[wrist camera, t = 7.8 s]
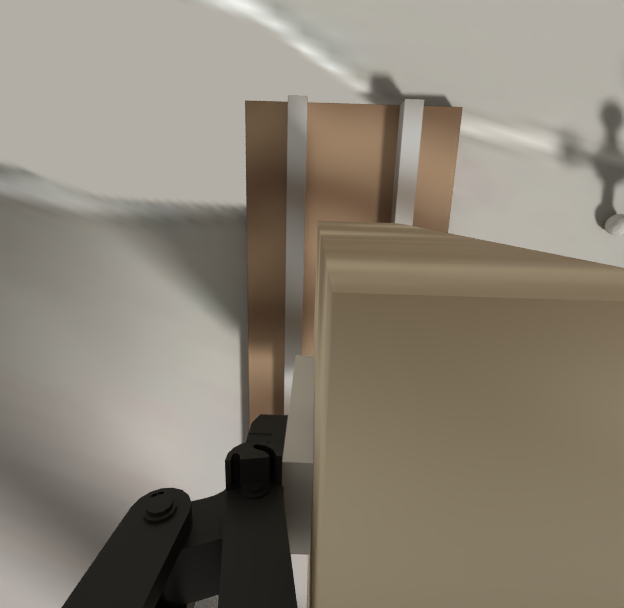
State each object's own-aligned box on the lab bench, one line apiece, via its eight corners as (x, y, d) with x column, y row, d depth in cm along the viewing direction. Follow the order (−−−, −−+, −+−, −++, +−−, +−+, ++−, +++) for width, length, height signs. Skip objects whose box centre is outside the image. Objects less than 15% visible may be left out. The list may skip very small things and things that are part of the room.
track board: (412, 492, 28) (420, 515, 26) (252, 486, 28) (247, 510, 26) (455, 111, 22) (471, 100, 19) (248, 105, 22) (241, 94, 19)
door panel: (376, 477, 19) (516, 1093, 6) (309, 474, 19) (296, 1085, 6) (398, 223, 16) (822, 306, 3) (317, 220, 16) (332, 291, 3)
